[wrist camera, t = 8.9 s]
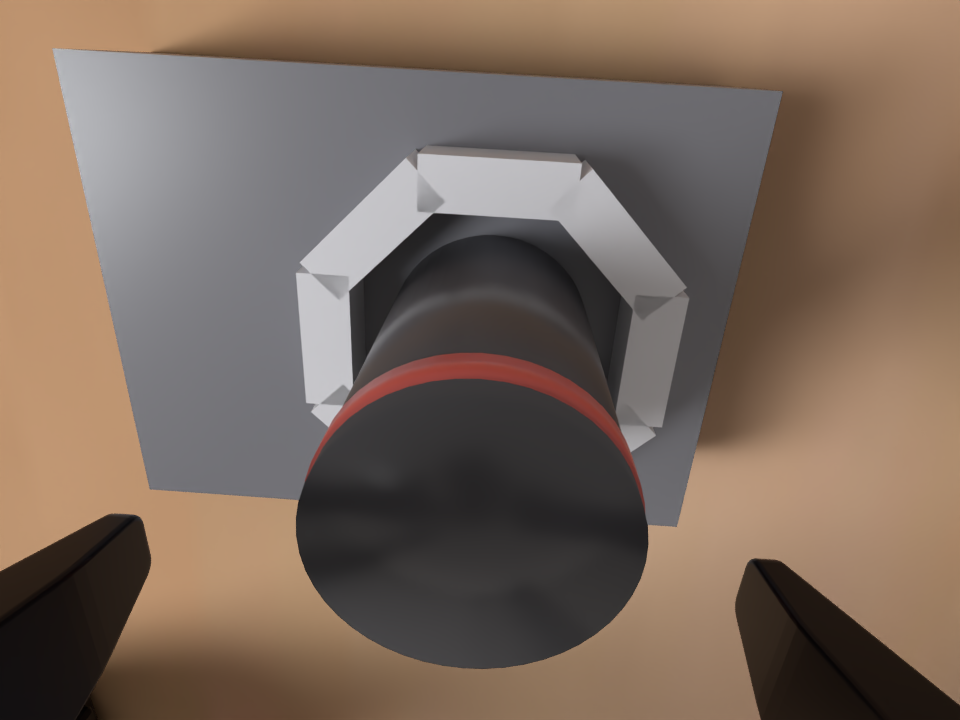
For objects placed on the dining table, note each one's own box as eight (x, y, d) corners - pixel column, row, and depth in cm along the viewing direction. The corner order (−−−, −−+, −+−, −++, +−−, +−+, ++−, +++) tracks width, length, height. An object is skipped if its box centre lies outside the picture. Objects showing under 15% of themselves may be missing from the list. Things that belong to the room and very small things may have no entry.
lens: (392, 408, 17) (305, 658, 10) (390, 226, 15) (275, 378, 8) (575, 421, 17) (622, 682, 10) (600, 239, 15) (684, 405, 8)
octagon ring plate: (208, 421, 22) (121, 522, 17) (149, 52, 17) (1, 45, 12) (649, 451, 22) (689, 563, 17) (724, 85, 17) (813, 94, 12)
